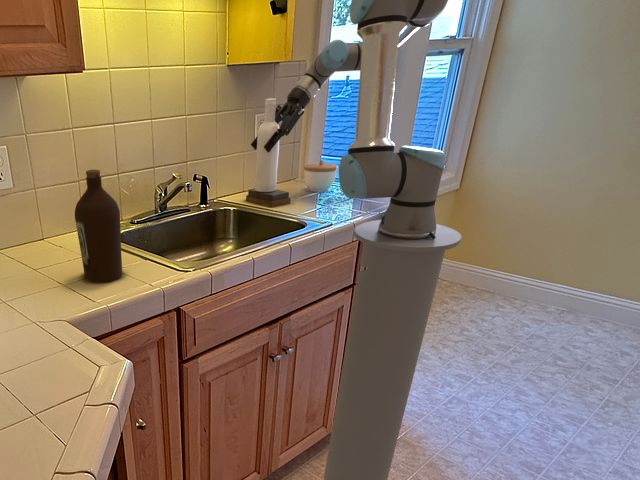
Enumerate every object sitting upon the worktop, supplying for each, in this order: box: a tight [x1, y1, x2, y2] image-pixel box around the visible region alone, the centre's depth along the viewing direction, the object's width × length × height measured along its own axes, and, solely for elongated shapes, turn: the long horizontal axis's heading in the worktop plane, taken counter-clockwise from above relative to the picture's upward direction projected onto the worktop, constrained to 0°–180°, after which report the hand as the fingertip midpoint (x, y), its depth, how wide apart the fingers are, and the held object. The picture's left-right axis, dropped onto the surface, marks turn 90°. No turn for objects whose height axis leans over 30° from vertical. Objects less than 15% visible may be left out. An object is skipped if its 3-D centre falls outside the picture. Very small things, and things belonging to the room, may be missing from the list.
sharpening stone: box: [245, 188, 292, 208], centre depth 184 cm, size 14×9×4 cm, turn 32°
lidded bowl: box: [303, 160, 339, 193], centre depth 197 cm, size 13×13×11 cm
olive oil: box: [74, 169, 123, 283], centre depth 119 cm, size 11×11×25 cm
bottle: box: [254, 97, 281, 192], centre depth 177 cm, size 8×8×30 cm
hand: (259, 148), depth 176 cm, fingers closed on bottle, 8 cm apart
